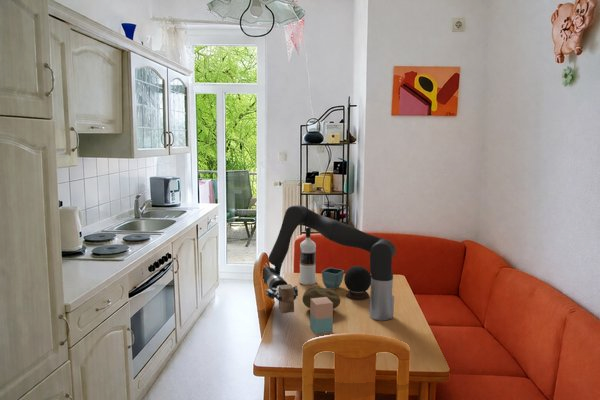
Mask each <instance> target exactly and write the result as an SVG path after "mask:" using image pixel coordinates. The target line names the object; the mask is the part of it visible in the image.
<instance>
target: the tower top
mask: <svg viewBox="0 0 600 400" xmlns="http://www.w3.org/2000/svg"><path fill="white" fill-rule="evenodd" d="M309 309H310V310H309V314H310V313H311V314H312V316H313V317H314V318H315V319H325V318H333V317H334V314H333V313H334V309H333V303H332V302H331V301H330V300H329V299H328V298H327V297H321V298H311V299H310V308H309Z"/></svg>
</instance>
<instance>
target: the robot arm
mask: <svg viewBox="0 0 600 400" xmlns="http://www.w3.org/2000/svg"><path fill="white" fill-rule="evenodd" d="M298 226H304V227H305V228H306V227H309V228H311V229H312V230H313V231H316V232H318V233H319V234H320V235H321V236H322V237H324V238H326V239H328V240H329V241H331V242H333V243H336V244H338V245H341V246H345V247H350V248H356V249H360V250H363V251H366V252H369V273H370V274H371V285H370V294H369V298H370V299H369V317H370V318H371V319H373V320H376V321H389V320H391V319H393V318H394V315H395V314H394V307H395V296H394V295H393V287H394V286H393V283H394V281H393V280H394V272H393V270H392V269H393V266H392V265H393V264H392V260H393V258H394V257H395V255H396V251H397V248H396V247H395V244H394V243H393V242H391V240H389V239H385V238H382V237H378V236H375V235H373V234H369V233H367V232H364V231H362V230H360V229H359V228H356V227H354V226H351V225H348V224H347V223H344V222H342V221H340V220H336V219H333V218H331V217H327V216H324V215H322V214H319V213H317V212H315V211H313V210H311V209H309V208H308V207H306V206H304V205H301V204H300V205H299V204H298V205H290V206H289V207H287V209H286V210H285V213H284V216H283V219H282V223H281V227H280V230H279V232H278V235H277V237H276V240H275V243H274V245H273V247H272V249H271V252H270V253H269V255H268V258H267V261H268V263H270V264H271V265H272V266H274V268H273V267H271V266H268V265H263V266H264V269H263V279H264V283H263V284H265V285H266V286H267V287H268V288H266V289H265V296H267V297H268V298H269V299H271V300H274V299H276V300H277V301H278V302H279V301H282V296H281V295H280V293H279V292H278V285H287V284H288V282H287V281H286V280H285V279H284V278H283V277H282V276H281V270H282V266H283V263H284V261H285V259H286V256H287V255H288V252H289V249H290V243H291V239H292V237H293V234H294V232H295V231H296V229H297V228H298ZM292 287H293V288H294V301H295V300H296V299H297V297H298V296H299V290H298V289H299V288H298V286H297V285H294V286H292Z"/></svg>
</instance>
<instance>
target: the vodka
mask: <svg viewBox="0 0 600 400" xmlns="http://www.w3.org/2000/svg"><path fill="white" fill-rule="evenodd" d="M311 229H312V228H309V227H306V226H305V239H304V240H303V241H301V242H300V243H299V244H300V245H299V248H300V250H299V255H300V256H299V276H298V282H299V283H300V284H301V285H303V286H313V285H314V284H316V283H317V277H316V276H317V275H316V267H317V266H316V251H317V249H316V248H317V244H316V242H315V241H313V240H312V239H311V235H312V234H311Z"/></svg>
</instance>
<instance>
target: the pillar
mask: <svg viewBox="0 0 600 400" xmlns="http://www.w3.org/2000/svg"><path fill="white" fill-rule="evenodd" d="M293 287H294V286H293V285H292V284H291V283H289V284H288V283H287V285H278V292H279V293H280V295H281V296H282V301H279V300H278V310H279V311H280V312H281V314H289V313H294V312H295V300H294V288H293Z"/></svg>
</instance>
